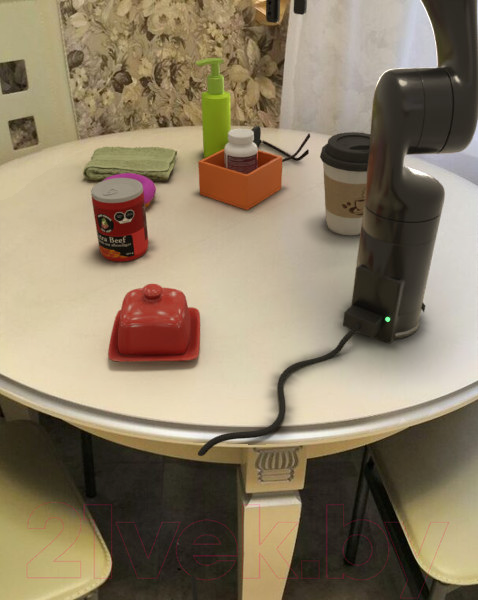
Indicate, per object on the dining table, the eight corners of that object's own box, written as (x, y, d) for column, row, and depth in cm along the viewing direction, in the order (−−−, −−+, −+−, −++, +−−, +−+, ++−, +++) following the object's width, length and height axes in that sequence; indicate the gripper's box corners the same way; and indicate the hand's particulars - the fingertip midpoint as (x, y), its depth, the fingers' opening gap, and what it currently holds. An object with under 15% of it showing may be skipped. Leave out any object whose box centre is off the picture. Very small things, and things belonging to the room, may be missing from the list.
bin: (247, 210, 112) (247, 176, 108) (199, 194, 117) (198, 161, 113) (281, 189, 119) (282, 156, 115) (234, 174, 125) (234, 143, 121)
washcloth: (171, 183, 121) (170, 168, 119) (82, 183, 121) (79, 167, 120) (178, 158, 132) (177, 143, 130) (96, 157, 132) (94, 142, 130)
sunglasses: (303, 179, 123) (304, 155, 120) (233, 172, 126) (233, 148, 123) (316, 149, 136) (318, 126, 133) (253, 143, 139) (253, 121, 136)
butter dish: (201, 313, 86) (198, 261, 81) (199, 368, 77) (197, 313, 72) (118, 315, 86) (111, 262, 81) (106, 370, 76) (97, 315, 71)
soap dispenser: (195, 153, 134) (190, 57, 122) (224, 148, 136) (222, 53, 125) (205, 163, 129) (202, 64, 118) (235, 158, 132) (234, 60, 120)
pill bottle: (263, 190, 117) (265, 134, 111) (236, 198, 114) (236, 141, 108) (245, 179, 121) (245, 124, 115) (218, 186, 119) (217, 131, 112)
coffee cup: (329, 245, 101) (337, 159, 93) (305, 215, 110) (310, 133, 102) (392, 236, 104) (406, 151, 95) (363, 207, 113) (373, 126, 104)
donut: (149, 216, 110) (147, 192, 107) (93, 213, 111) (90, 189, 108) (161, 191, 118) (159, 169, 116) (109, 189, 119) (106, 166, 117)
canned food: (90, 255, 99) (79, 192, 92) (120, 234, 104) (112, 173, 98) (129, 267, 96) (121, 203, 89) (158, 244, 102) (152, 182, 95)
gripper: (287, -93, 89) (282, 28, 98) (335, -97, 98) (326, 13, 108) (244, -94, 92) (244, 22, 102) (294, -98, 102) (290, 8, 111)
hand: (286, 17), depth 105 cm, fingers open, 8 cm apart
